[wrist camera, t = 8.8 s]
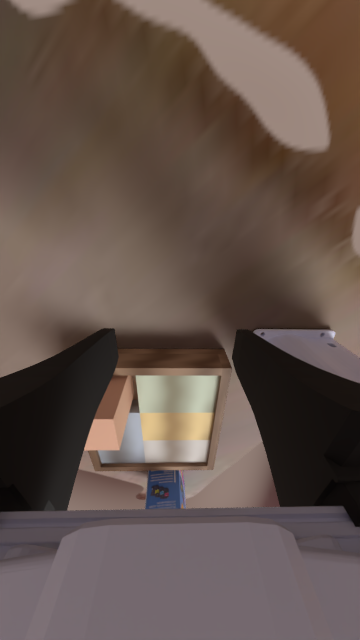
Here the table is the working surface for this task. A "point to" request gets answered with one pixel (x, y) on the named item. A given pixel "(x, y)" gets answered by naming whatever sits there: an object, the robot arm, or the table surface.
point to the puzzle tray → (174, 369)
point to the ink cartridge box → (165, 490)
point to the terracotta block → (111, 415)
